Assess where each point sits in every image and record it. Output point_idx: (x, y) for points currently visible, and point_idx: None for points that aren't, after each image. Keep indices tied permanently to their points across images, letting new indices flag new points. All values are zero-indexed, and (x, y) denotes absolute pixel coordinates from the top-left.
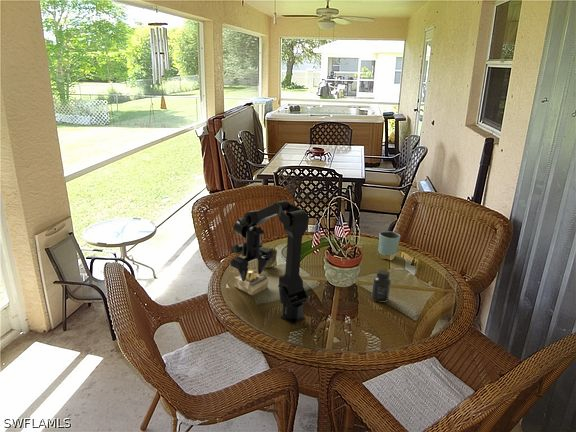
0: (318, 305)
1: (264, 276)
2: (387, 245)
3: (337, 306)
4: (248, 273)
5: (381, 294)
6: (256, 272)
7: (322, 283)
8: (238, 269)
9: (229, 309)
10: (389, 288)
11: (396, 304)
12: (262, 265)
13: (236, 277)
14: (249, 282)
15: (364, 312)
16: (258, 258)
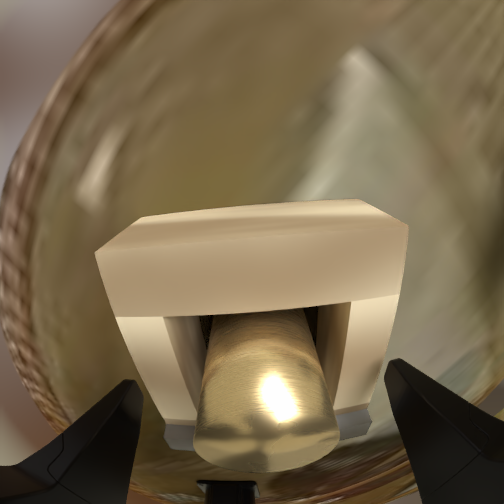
0: (344, 479)
1: (357, 427)
2: None
3: (368, 482)
4: (196, 450)
5: None
6: (298, 466)
7: (476, 404)
8: (26, 470)
9: (44, 377)
10: None
11: None
12: (423, 473)
13: (113, 262)
14: (187, 409)
15: (375, 491)
16: (499, 485)
